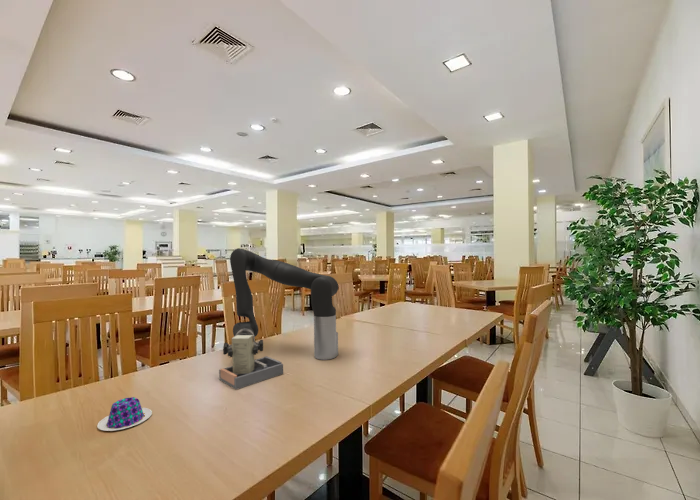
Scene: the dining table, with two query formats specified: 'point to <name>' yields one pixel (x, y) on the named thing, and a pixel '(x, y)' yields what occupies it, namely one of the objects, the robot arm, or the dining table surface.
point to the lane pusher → (259, 365)
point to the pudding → (124, 415)
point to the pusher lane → (251, 374)
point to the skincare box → (243, 354)
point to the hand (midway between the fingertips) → (243, 353)
